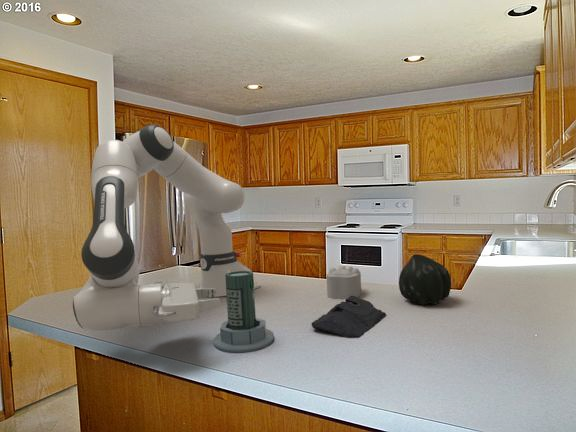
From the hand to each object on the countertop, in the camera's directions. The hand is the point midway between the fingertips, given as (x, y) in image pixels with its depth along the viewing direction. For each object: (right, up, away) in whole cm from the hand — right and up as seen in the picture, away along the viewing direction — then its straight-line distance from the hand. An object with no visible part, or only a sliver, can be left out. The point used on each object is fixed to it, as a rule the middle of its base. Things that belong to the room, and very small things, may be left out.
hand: (218, 296), depth 95 cm
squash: (+57, -7, +27) cm, 63 cm away
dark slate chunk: (+32, -10, +12) cm, 35 cm away
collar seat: (+6, -11, +2) cm, 12 cm away
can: (+6, -10, +2) cm, 12 cm away
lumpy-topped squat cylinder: (+35, -7, +41) cm, 54 cm away
